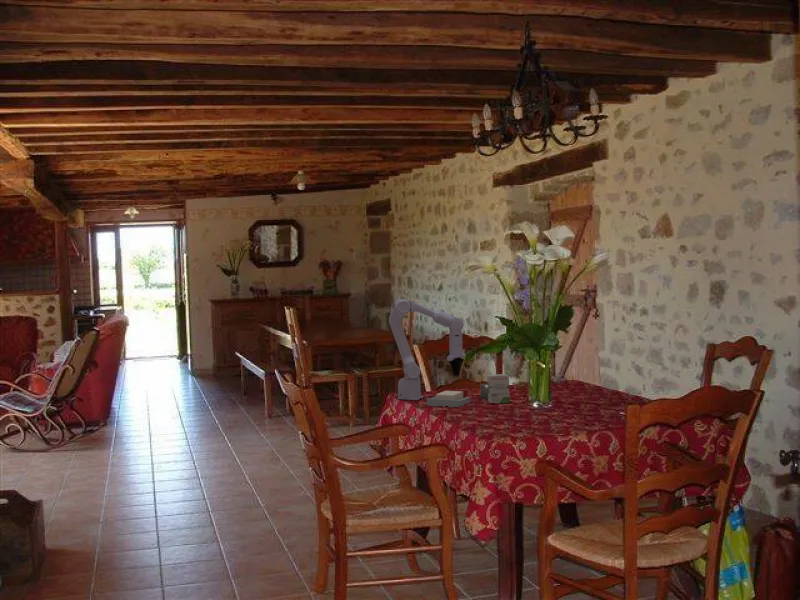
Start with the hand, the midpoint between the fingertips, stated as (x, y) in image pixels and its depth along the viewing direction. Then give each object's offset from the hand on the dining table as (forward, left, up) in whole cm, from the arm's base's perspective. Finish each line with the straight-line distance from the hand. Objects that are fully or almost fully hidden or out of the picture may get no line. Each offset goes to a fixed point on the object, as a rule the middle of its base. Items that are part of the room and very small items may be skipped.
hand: (456, 375), depth 388 cm
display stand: (+5, -19, -9) cm, 22 cm away
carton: (+5, -19, -10) cm, 22 cm away
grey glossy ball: (+15, -1, -10) cm, 18 cm away
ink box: (+23, -8, -10) cm, 26 cm away
